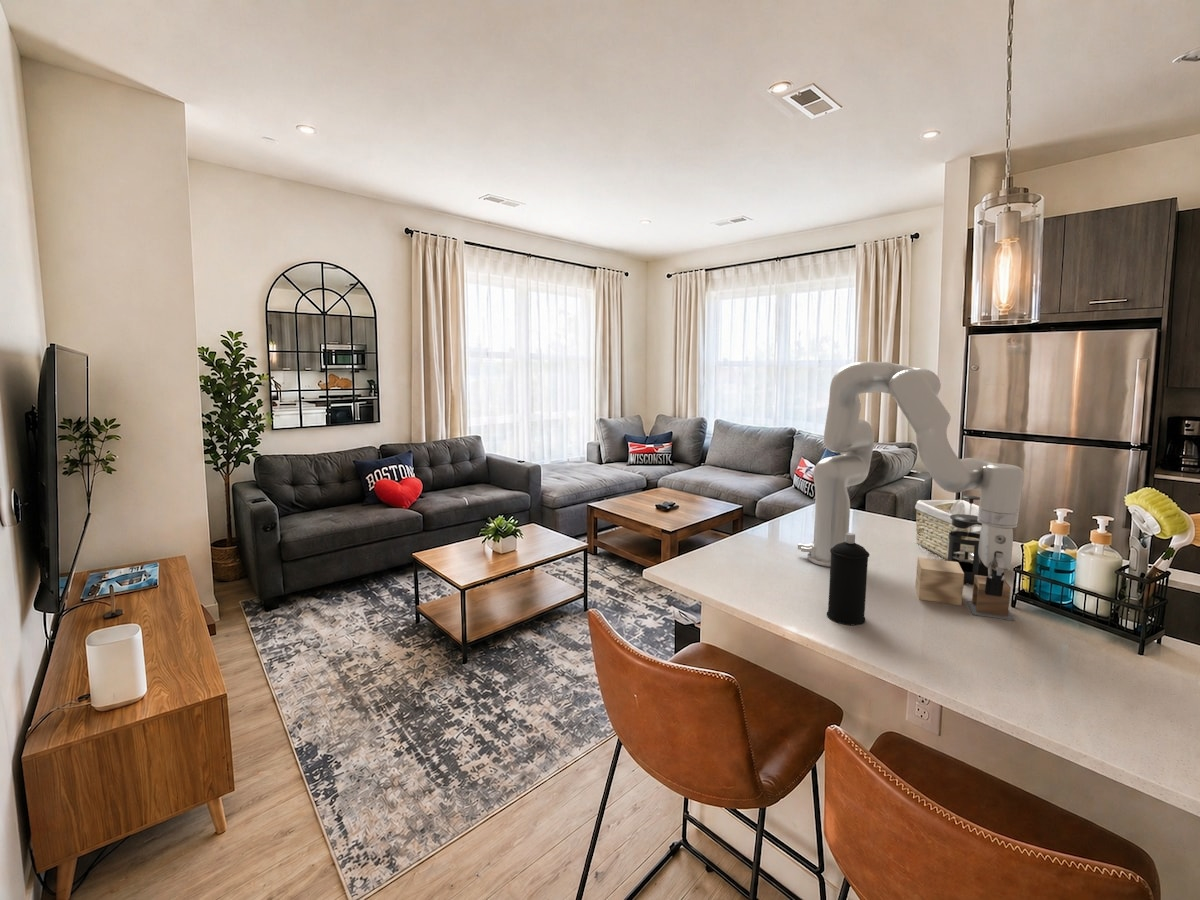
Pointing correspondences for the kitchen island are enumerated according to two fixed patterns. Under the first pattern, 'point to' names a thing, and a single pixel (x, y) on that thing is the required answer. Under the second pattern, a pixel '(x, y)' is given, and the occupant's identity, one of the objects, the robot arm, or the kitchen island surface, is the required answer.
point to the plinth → (939, 581)
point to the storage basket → (942, 524)
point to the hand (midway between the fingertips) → (988, 587)
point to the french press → (964, 558)
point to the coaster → (973, 610)
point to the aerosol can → (848, 582)
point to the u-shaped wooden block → (990, 598)
